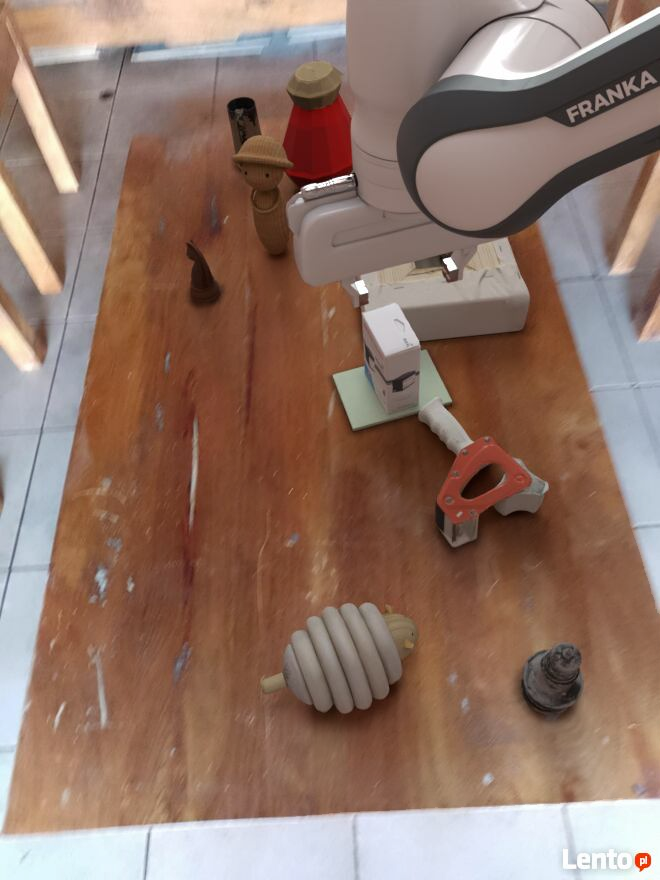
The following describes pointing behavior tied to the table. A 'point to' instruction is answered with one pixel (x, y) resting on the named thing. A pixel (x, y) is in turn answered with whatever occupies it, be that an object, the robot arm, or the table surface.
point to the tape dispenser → (450, 507)
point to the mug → (243, 121)
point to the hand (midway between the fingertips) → (405, 289)
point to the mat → (366, 403)
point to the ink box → (391, 357)
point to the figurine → (266, 188)
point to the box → (455, 294)
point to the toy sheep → (345, 657)
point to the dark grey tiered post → (553, 679)
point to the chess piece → (201, 277)
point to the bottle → (317, 126)
